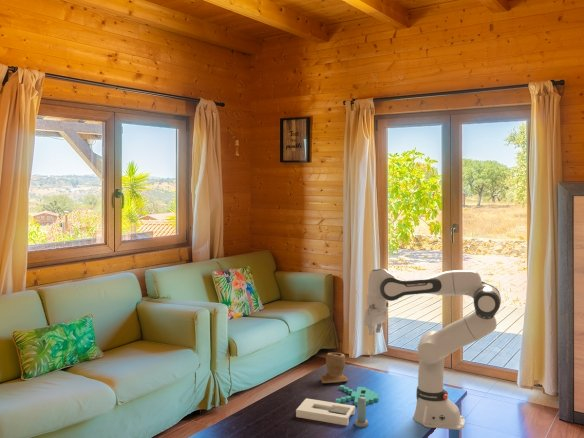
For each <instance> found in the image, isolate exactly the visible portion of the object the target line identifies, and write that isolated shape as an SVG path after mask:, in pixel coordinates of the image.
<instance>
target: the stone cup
mask: <svg viewBox="0 0 584 438" xmlns="http://www.w3.org/2000/svg"><path fill="white" fill-rule="evenodd" d="M325 364H326V368H327V369H326V370H327V372H326V373H325V374H324V375H320V378H321V379H320V380H321V383H322V384H334V383H336V384H337V383H344V382H348V381H349V379H348V377H347V376H345V375H344V369H345V365H346V356H345V354H344V353H341V352H328V353H327V354H326V356H325Z"/></svg>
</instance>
